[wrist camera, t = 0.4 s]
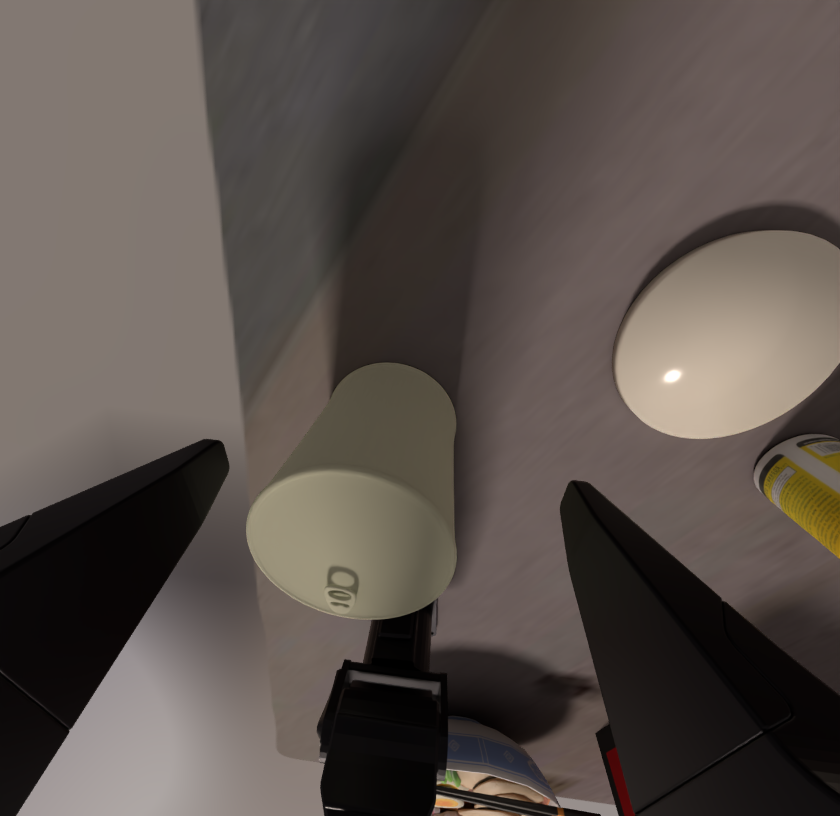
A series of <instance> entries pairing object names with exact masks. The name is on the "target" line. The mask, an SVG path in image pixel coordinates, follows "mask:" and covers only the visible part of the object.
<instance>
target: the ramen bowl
mask: <svg viewBox="0 0 840 816" xmlns="http://www.w3.org/2000/svg"><path fill="white" fill-rule="evenodd" d="M432 816H601V815H600V814H595V813H589V812H584V811H578V810H573V809H567V808H561V807H560V805H559V803H558V801H557V799H556V797H555V795H554V794H553V792H552V790H551V788H550V786H549V784H548V783H547V781H546V779H545V778H544V776H543V774H542V773H541V771H540V770H539V768H538V767H537V765H536V764H535V762H534V761H533V760H532V758H531V757H530V756H529V755H528V753H527V752H526V751H525V750H524V749H523V748H522V747H521V746H519V745H518V744H517V743H516V742H514V741H513V740H511V739H510V738H508V737H507V736H505V735H504V734H502V733H500V732H499V731H497V730H495V729H492V728H490V727H487V726H484V725H482V724H480V723H479V722H477V721H476V720H473V719H470V718H466V717H461V716H448V755H447V768H446V777H445V781H438V780H437V791H436V804H435V807H434V810H433V813H432Z"/></svg>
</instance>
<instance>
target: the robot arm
mask: <svg viewBox="0 0 840 816" xmlns="http://www.w3.org/2000/svg"><path fill="white" fill-rule="evenodd" d="M228 472H229V462H228V458H227V455H226V451H225V447H224V444H223V443H222V442H221V441H219V440H212V439H203V440H201V441H198V442H196V443H194V444H191V445H189V446H187V447H185V448H182V449H180V450H178V451H175V452H173V453H171V454H168V455H166V456H164V457H161V458H160V459H157V460H155V461H152V462H150V463H148V464H145V465H143V466H141V467H138V468H136V469H134V470H131V471H129V472H127V473H124V474H122V475H120V476H117V477H115V478H113V479H110V480H108V481H106V482H104V483H101V484H99V485H97V486H94V487H92V488H90V489H87V490H85V491H83V492H80V493H78V494H76V495H74V496H71V497H69V498H66V499H64V500H62V501H60V502H57V503H55V504H53V505H50V506H48V507H46V508H43V509H41V510H39V511H36V512H34V513H33V514H32V515H27V516H25V517H22V518H20V519H18V520H15V521H13V522H11V523H8V524H6V525H4V526H1V527H0V816H16V815H17V813H18V812H19V810H20V809H21V807H22V806H23V804H24V802H25V800H26V799H27V798H28V796H29V795H30V793H31V791H32V790H33V788H34V787H35V785H36V784H37V782H38V780H39V779H40V777H41V776H42V774H43V773H44V771H45V770H46V768H47V767H48V765H49V763H50V762H51V760H52V759H53V757H54V756H55V754H56V753H57V751H58V749H59V748H60V746H61V745H62V743H63V742H64V740H65V738H66V737H67V735H68V734H69V730H70V729H71V728H72V727H73V726H74V724H75V722H76V721H77V719H78V718H79V716H80V714H81V713H82V711H83V710H84V708H85V707H86V705H87V704H88V702H89V700H90V699H91V697H92V696H93V694H94V693H95V691H96V690H97V688H98V686H99V685H100V683H101V682H102V680H103V679H104V677H105V676H106V674H107V672H108V671H109V669H110V668H111V666H112V665H113V663H114V661H115V660H116V658H117V657H118V655H119V654H120V652H121V651H122V649H123V647H124V646H125V644H126V642H127V641H128V640H129V638H130V637H131V635H132V633H133V632H134V630H135V629H136V627H137V626H138V624H139V622H140V621H141V619H142V618H143V616H144V614H145V613H146V611H147V610H148V608H149V607H150V605H151V604H152V602H153V601H154V599H155V597H156V596H157V594H158V593H159V591H160V590H161V588H162V587H163V585H164V583H165V582H166V580H167V579H168V577H169V575H170V574H171V572H172V571H173V569H174V568H175V566H176V565H177V563H178V561H179V560H180V558H181V557H182V555H183V554H184V552H185V551H186V549H187V547H188V546H189V544H190V543H191V541H192V540H193V538H194V536H195V535H196V533H197V532H198V530H199V529H200V527H201V525H202V523H203V521H204V520H205V518H206V516H207V514H208V512H209V510H210V508H211V506H212V504H213V502H214V500H215V498H216V496H217V494H218V492H219V490H220V488H221V486H222V484H223V482H224V480H225V478H226V476H227V474H228ZM560 515H561V522H562V528H563V535H564V542H565V549H566V555H567V562H568V567H569V572H570V576H571V580H572V584H573V588H574V592H575V595H576V599H577V603H578V607H579V610H580V614H581V618H582V622H583V625H584V629H585V633H586V637H587V640H588V644H589V648H590V652H591V655H592V659H593V663H594V667H595V670H596V674H597V678H598V682H599V685H600V689H601V693H602V697H603V700H604V704H605V708H606V712H607V715H608V719H609V723H610V727H611V730H612V734H613V738H614V742H615V745H616V749H617V753H618V757H619V760H620V764H621V768H622V772H623V775H624V779H625V783H626V787H627V790H628V794H629V798H630V802H631V805H632V809H633V812H634V813H635V814H636V815H635V816H840V695H839V694H837V693H836V692H835V691H833V690H832V689H831V688H830V687H828V686H827V685H826V684H825V683H823V682H822V681H821V680H819V679H818V678H817V677H816V676H814V675H813V674H812V673H811V672H809V671H808V670H807V669H806V668H804V667H803V666H802V665H801V664H799V663H798V662H797V661H796V660H794V659H793V658H792V657H791V656H789V655H788V654H787V653H786V652H785V651H783V650H782V649H781V648H780V647H778V646H777V645H776V644H775V643H773V642H772V641H771V640H770V639H769V638H768V637H766V636H765V635H764V634H763V633H762V632H760V631H759V630H758V629H757V628H756V627H755V626H753V625H752V624H751V623H750V622H749V621H747V620H746V619H745V618H744V617H743V616H742V615H740V614H739V613H738V612H737V611H736V610H735V609H734V608H732V607H731V606H730V605H729V604H728V603H727V602H725V601H722V599H721V597H720V596H718V595H717V594H716V593H715V592H714V591H713V590H712V589H710V588H709V587H708V586H707V585H706V584H705V583H704V582H702V581H701V580H700V579H699V578H698V577H697V576H696V575H694V574H693V573H692V572H691V571H690V570H689V569H687V568H686V567H685V566H684V565H683V564H682V563H681V562H679V561H678V560H677V559H676V558H675V557H674V556H673V555H671V554H670V553H669V552H668V551H667V550H666V549H665V548H663V547H662V546H661V545H660V544H659V543H658V542H656V541H655V540H654V539H653V538H652V537H651V536H650V535H648V534H647V533H646V532H645V531H644V530H643V529H642V528H640V527H639V526H638V525H637V524H636V523H635V522H634V521H632V520H631V519H630V518H629V517H628V516H627V515H625V514H624V513H623V512H622V511H621V510H620V509H619V508H617V507H616V506H615V505H614V504H613V503H612V502H611V501H609V500H608V499H607V498H606V497H605V496H604V495H603V494H601V493H600V492H599V491H598V490H597V489H596V488H594V487H593V486H592V485H591V484H590V483H588V482H585V481H576V480H572V481H570V482H569V484H568V486H567V488H566V491H565V493H564V496H563V499H562V501H561V504H560ZM435 635H436V600H434V601H433V602H431V603H430V604H429V605H427V606H425V607H424V608H422V609H420V610H418V611H415V612H412V613H410V614H407V615H403V616H400V617H394V618H389V619H377V620H371V626H370V631H369V636H368V641H367V646H366V651H365V655H364V660H363V663H358V662H351V660H346V659H345V660H344V662H343V665H342V669H339V670H337V672H336V676H335V680H334V684H333V687H332V691H331V694H330V696H329V699H328V701H327V703H326V706H325V708H324V710H323V713H322V715H321V717H320V720H319V722H318V726H317V734H318V736H319V738H320V756H319V761H320V763H324V764H325V765H324V770H323V774H322V779H321V785H320V786H321V787H320V789H321V797H322V802H323V809H324V816H432V813H433V810H434V807H435V804H436V791H437V780H438V781H445V777H446V768H447V755H448V698H447V673H441V672H440V674H439V673H432V672H429V664H430V646H431V636H435Z"/></svg>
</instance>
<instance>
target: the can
mask: <svg viewBox="0 0 840 816" xmlns="http://www.w3.org/2000/svg"><path fill="white" fill-rule="evenodd" d="M455 433H456V415H455V410H454V407H453V404H452V402H451V400H450V398H449V396H448V395H447V393H446V392H445V390H444V389H443V388H442V387H441V386H440V384H439V383H438V382H437V381H435V380H434V379H433V378H432V377H430V376H429V375H427V374H426V373H424V372H422V371H421V370H418V369H416V368H414V367H411V366H408V365H404V364H399V363H389V362H385V363H375V364H370V365H367V366H364V367H361V368H359V369H357V370H355V371H353V372H352V373H350V374H349V375H347V376H346V377H345V378H344V379H343V380H342V381H341V382H340V383H339V384H338V386H337V387H336V389H335V390H334V392H333V394H332V396H331V398H330V401H329V403H328V404H327V406H326V407H325V408H324V410H323V411H322V413H321V414H320V415H319V417H318V418H317V420H316V421H315V422H314V424H313V425H312V427H311V428H310V429H309V431H308V432H307V434H306V435H305V436H304V438H303V439H302V440H301V442H300V443H299V445H298V446H297V447H296V449H295V450H294V451H293V453H292V454H291V455H290V457H289V458H288V459H287V461H286V462H285V463H284V465H283V466H282V467H281V469H280V470H279V471H278V473H277V474H276V475H275V477H274V478H273V479H272V481H271V482H270V483H269V484H268V485H267V486H266V487H265V488H264V489H263V490H262V491H261V492H260V494H259V495H258V496H257V497H256V499H255V500H254V502H253V504H252V506H251V508H250V511H249V514H248V517H247V523H246V534H247V541H248V545H249V548H250V551H251V553H252V555H253V558H254V560H255V562H256V563H257V565H258V566H259V568H260V569H261V571H262V572H263V573H264V574H265V575H266V576H267V578H268V579H269V580H270V581H271V582H273V583H274V584H275V585H276V586H277V587H278V588H279V589H281V590H282V591H283V592H285V593H286V594H288V595H289V596H290V597H292V598H294V599H296V600H297V601H299V602H301V603H303V604H305V605H307V606H309V607H311V608H314V609H316V610H319V611H322V612H325V613H328V614H332V615H336V616H341V617H346V618H352V619H363V620H377V619H389V618H394V617H400V616H403V615H407V614H410V613H412V612H415V611H418V610H420V609H422V608H424V607H425V606H427V605H429V604H430V603H431V602H433V601H434V600H436V599H437V598H438V597H439V596H440V595H441V594H442V593H443V592H444V590H445V589H446V588H447V586H448V585H449V583H450V581H451V579H452V577H453V575H454V571H455V568H456V562H457V548H456V543H455V528H454V438H455Z"/></svg>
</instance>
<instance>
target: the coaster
mask: <svg viewBox="0 0 840 816" xmlns="http://www.w3.org/2000/svg"><path fill="white" fill-rule="evenodd" d="M839 363H840V250H839V249H838V248H837V247H836V246H834V245H833V244H831V243H830V242H828V241H826V240H824V239H822V238H819V237H817V236H814V235H812V234H807V233H802V232H797V231H781V230H760V231H749V232H742V233H738V234H733V235H728V236H725V237H722V238H719V239H716V240H713V241H711V242H709V243H706V244H704V245H702V246H700V247H698V248H695V249H694V250H692V251H690V252H689V253H687V254H685V255H683V256H682V257H680V258H679V259H677V260H676V261H675V262H673V263H672V264H670V265H669V266H668V267H666V268H665V269H664V270H663V271H662V272H660V273H659V274H658V275H657V276H656V277H655V278H654V279H653V280H652V281H651V282H650V283H649V284H648V285H647V286H646V287H645V288H644V289H643V290H642V291H641V293H640V294H639V295H638V297H637V298H636V299H635V301H634V302H633V303H632V305H631V307H630V308H629V310H628V312H627V313H626V315H625V317H624V319H623V321H622V323H621V325H620V328H619V330H618V333H617V336H616V339H615V343H614V348H613V354H612V372H613V379H614V382H615V385H616V389H617V391H618V393H619V395H620V397H621V398H622V400H623V401H624V403H625V404H626V405H627V407H628V408H629V409H630V410H631V411H632V412H633V413H634V414H635V415H636V416H637V417H638V418H640V419H641V420H642V421H643V422H644V423H646V424H647V425H649V426H650V427H652V428H654V429H656V430H658V431H660V432H663V433H666V434H669V435H672V436H677V437H682V438H692V439H709V438H717V437H724V436H729V435H733V434H738V433H741V432H744V431H747V430H750V429H753V428H755V427H758V426H760V425H763V424H765V423H767V422H769V421H771V420H773V419H775V418H777V417H779V416H781V415H782V414H784V413H785V412H787V411H789V410H790V409H792V408H793V407H795V406H796V405H798V404H799V403H800V402H802V401H803V400H804V399H806V398H807V397H808V396H809V395H810V394H811V393H813V392H814V391H815V390H816V389H817V388H818V387H819V386H820V385H821V384H822V383H823V382H824V381H825V380H826V379H827V378H828V377H829V376H830V374H831V373H832V372H833V370H834V369H835V368H836V367H837V365H838V364H839Z"/></svg>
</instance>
